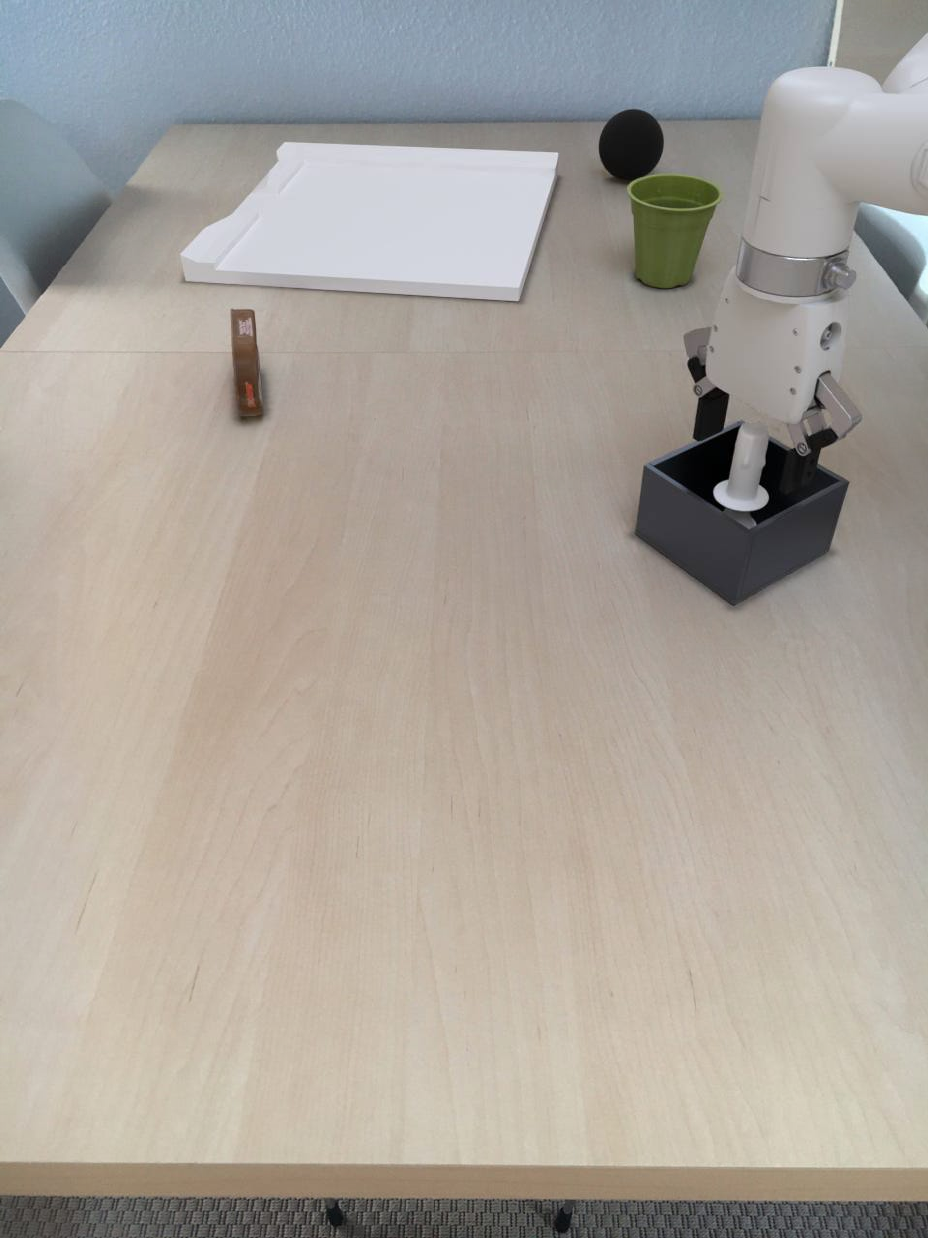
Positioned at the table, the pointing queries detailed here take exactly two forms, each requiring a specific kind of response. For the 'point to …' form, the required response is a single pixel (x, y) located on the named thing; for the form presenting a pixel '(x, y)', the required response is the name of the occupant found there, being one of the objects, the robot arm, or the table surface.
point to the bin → (716, 543)
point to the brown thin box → (246, 362)
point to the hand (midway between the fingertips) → (749, 460)
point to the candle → (745, 475)
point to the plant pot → (670, 225)
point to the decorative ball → (631, 144)
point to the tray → (384, 222)
